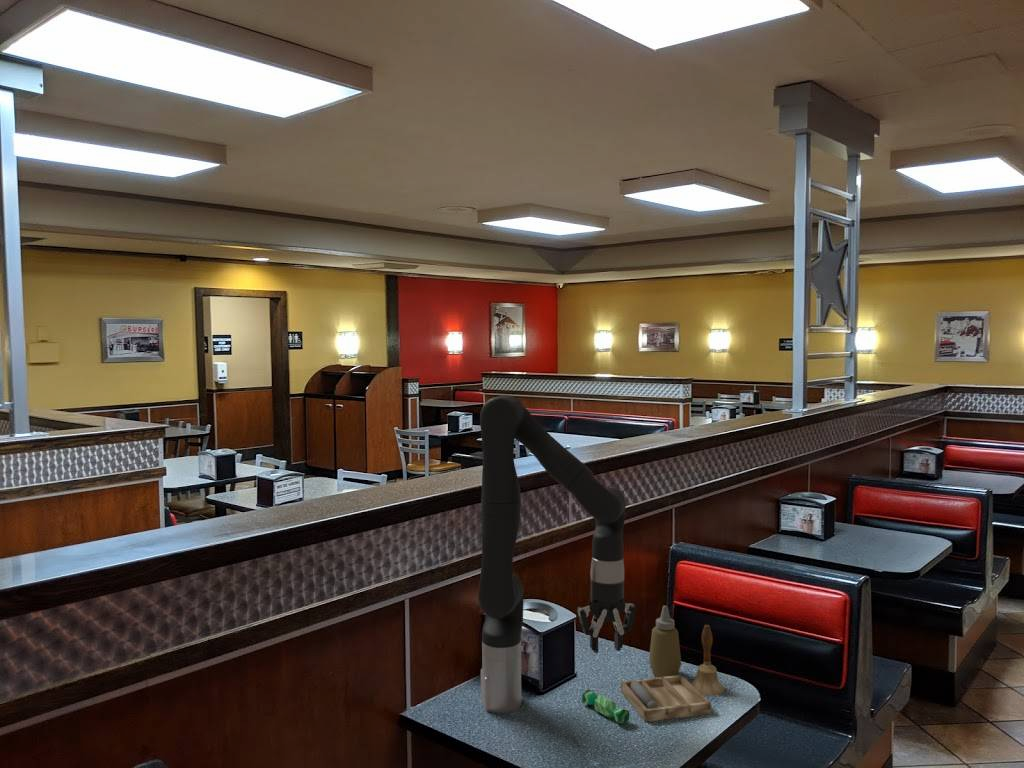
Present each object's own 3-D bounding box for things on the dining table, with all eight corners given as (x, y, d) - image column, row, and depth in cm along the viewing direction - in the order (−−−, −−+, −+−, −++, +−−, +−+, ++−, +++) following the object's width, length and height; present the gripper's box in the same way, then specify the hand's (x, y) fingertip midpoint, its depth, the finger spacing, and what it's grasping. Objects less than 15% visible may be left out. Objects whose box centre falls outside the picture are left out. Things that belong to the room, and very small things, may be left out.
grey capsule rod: (649, 714, 168) (649, 703, 168) (628, 689, 180) (628, 679, 180) (659, 712, 169) (659, 702, 168) (638, 688, 181) (638, 678, 181)
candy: (629, 723, 167) (629, 705, 166) (618, 728, 164) (618, 710, 164) (593, 702, 176) (593, 686, 176) (582, 707, 174) (582, 690, 174)
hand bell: (725, 698, 177) (726, 632, 176) (690, 695, 179) (690, 630, 178) (723, 682, 185) (723, 620, 185) (688, 680, 187) (689, 617, 186)
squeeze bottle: (647, 680, 187) (647, 610, 186) (650, 667, 195) (650, 599, 194) (679, 684, 184) (680, 613, 184) (682, 671, 192) (682, 602, 191)
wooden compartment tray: (644, 721, 166) (644, 711, 166) (620, 691, 181) (620, 681, 181) (710, 713, 170) (710, 703, 170) (681, 684, 185) (681, 674, 184)
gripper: (582, 584, 163) (581, 660, 164) (643, 580, 166) (642, 654, 167) (572, 573, 171) (571, 646, 172) (630, 570, 174) (629, 641, 175)
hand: (606, 650), depth 170 cm, fingers open, 4 cm apart
